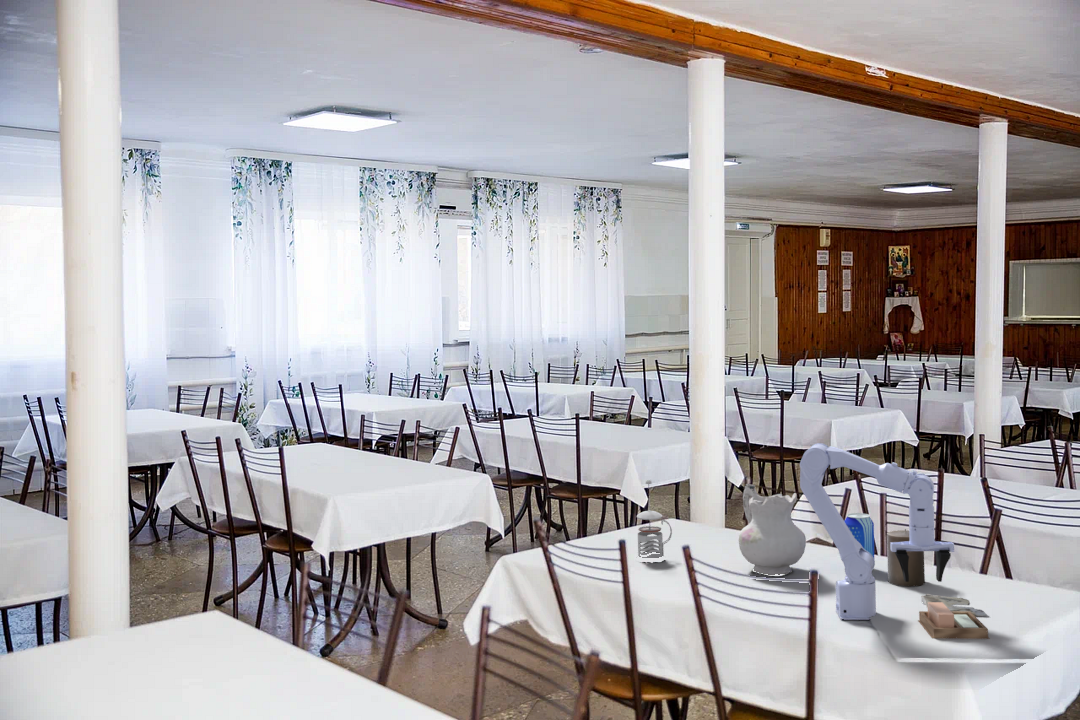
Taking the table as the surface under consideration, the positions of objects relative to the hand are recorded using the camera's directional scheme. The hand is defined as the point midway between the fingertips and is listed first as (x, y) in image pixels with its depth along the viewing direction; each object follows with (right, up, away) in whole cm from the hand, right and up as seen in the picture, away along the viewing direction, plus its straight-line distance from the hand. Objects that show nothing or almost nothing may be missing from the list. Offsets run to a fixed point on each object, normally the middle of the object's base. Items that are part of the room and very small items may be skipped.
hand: (922, 580), depth 249 cm
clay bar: (+1, -10, -9) cm, 13 cm away
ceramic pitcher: (-25, -9, +53) cm, 59 cm away
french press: (-57, -9, +71) cm, 92 cm away
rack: (+4, -10, -9) cm, 14 cm away
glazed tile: (+6, -9, -9) cm, 15 cm away
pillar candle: (+9, -8, +36) cm, 38 cm away
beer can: (0, -8, +51) cm, 51 cm away
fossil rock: (+12, -10, +9) cm, 18 cm away
